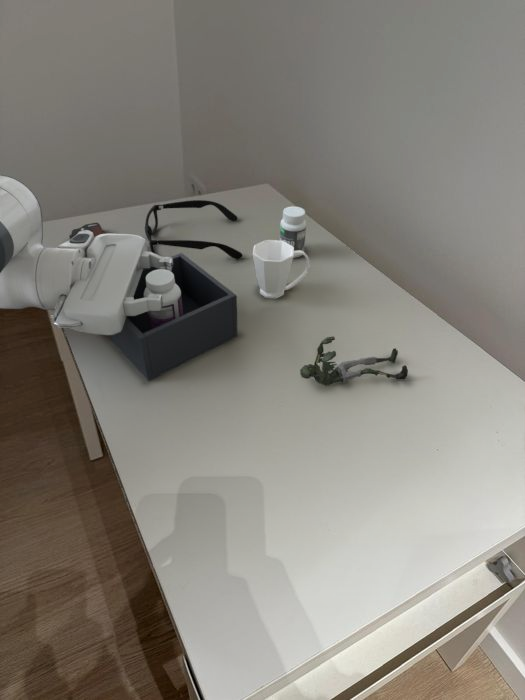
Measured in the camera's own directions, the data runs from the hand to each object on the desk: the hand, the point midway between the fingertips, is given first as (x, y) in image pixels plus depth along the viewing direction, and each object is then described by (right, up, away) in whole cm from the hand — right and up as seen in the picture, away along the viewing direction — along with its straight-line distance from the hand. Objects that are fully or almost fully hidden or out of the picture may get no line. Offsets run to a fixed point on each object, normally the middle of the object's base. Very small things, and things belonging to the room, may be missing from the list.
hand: (167, 282), depth 73 cm
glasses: (0, +12, +27) cm, 30 cm away
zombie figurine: (+26, -13, 0) cm, 29 cm away
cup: (+17, +1, +15) cm, 23 cm away
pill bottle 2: (+19, +9, +25) cm, 32 cm away
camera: (-19, +10, +25) cm, 33 cm away
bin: (-1, -7, +6) cm, 9 cm away
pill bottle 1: (-1, -6, +6) cm, 9 cm away
